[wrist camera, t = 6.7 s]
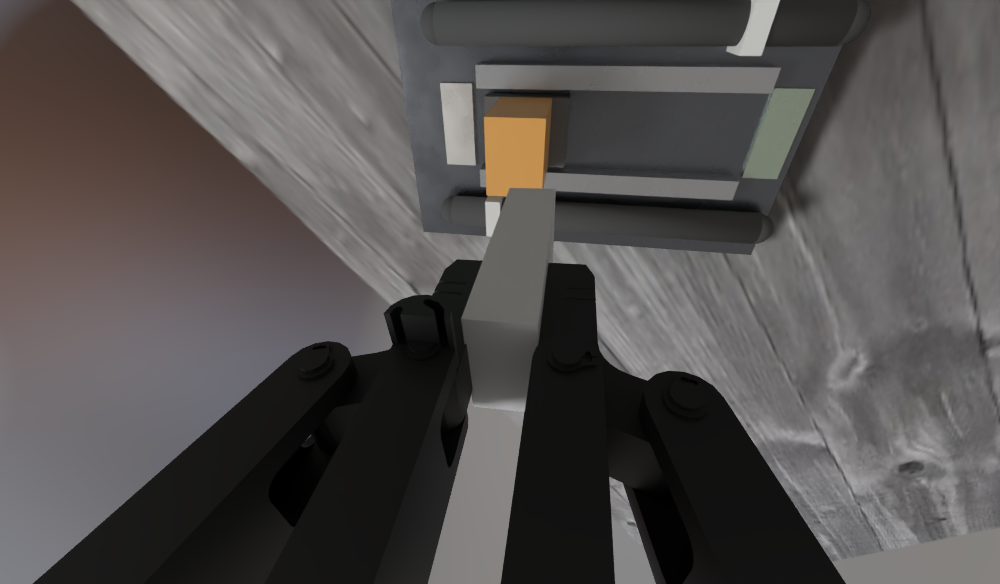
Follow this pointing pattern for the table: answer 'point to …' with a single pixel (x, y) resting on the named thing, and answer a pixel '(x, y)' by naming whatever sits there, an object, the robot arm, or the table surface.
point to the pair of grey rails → (640, 22)
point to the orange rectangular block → (523, 139)
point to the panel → (615, 123)
